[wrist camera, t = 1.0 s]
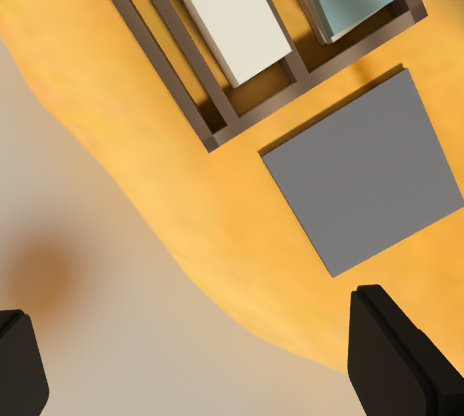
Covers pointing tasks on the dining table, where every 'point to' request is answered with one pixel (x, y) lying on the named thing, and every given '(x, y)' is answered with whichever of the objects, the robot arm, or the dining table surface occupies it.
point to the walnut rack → (404, 16)
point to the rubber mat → (366, 175)
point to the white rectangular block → (239, 35)
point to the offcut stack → (338, 16)
